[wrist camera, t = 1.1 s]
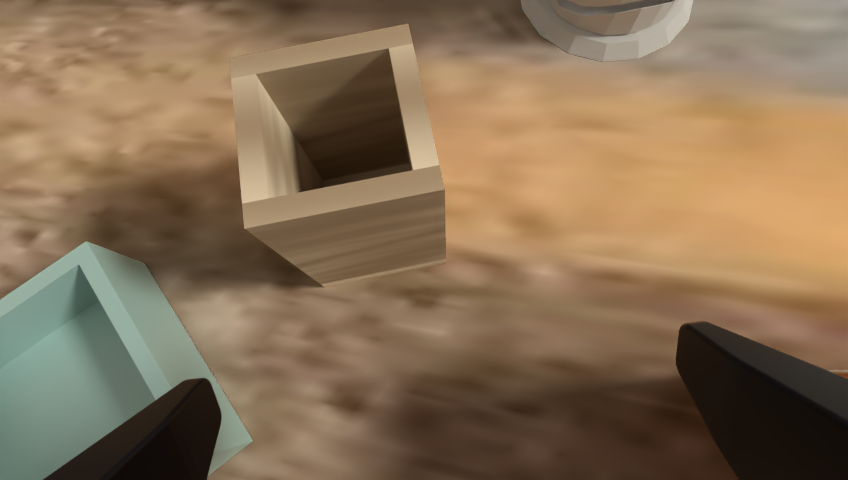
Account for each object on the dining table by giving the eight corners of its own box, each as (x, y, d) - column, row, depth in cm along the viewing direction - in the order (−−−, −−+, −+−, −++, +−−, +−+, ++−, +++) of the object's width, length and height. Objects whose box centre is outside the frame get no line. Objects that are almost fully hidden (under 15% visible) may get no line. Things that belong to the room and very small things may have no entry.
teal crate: (253, 440, 21) (210, 455, 17) (44, 604, 20) (-52, 658, 16) (144, 263, 24) (86, 241, 20) (-47, 396, 22) (-149, 400, 19)
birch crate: (446, 263, 23) (444, 189, 14) (324, 287, 23) (244, 228, 14) (422, 153, 25) (408, 23, 16) (310, 175, 25) (229, 58, 16)
